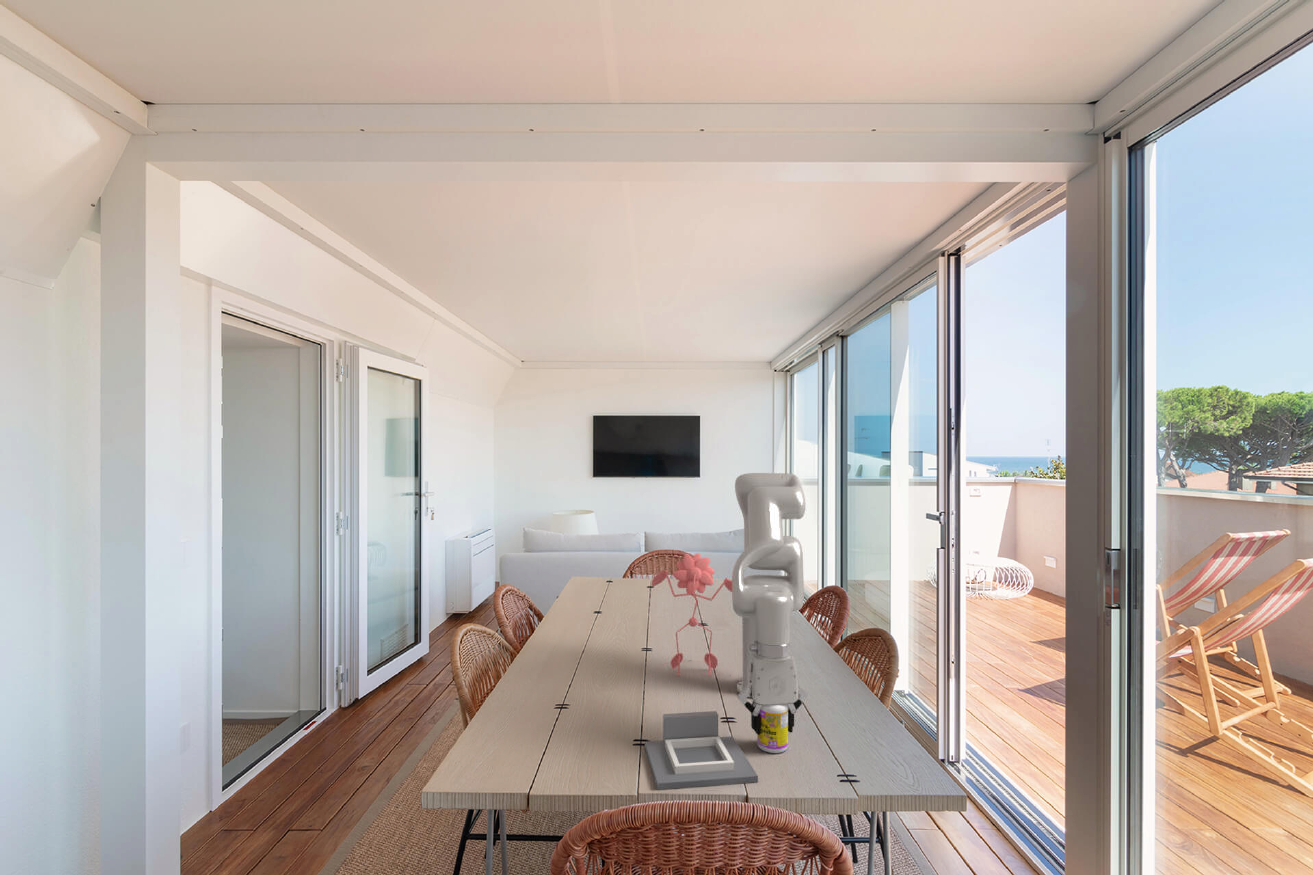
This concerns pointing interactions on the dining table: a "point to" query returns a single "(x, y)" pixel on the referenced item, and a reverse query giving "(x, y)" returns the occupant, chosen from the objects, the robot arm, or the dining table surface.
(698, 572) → the pink stick figure
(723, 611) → the dining table surface
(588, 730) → the dining table surface
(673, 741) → the dock
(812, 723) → the dining table surface
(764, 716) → the supplement bottle
